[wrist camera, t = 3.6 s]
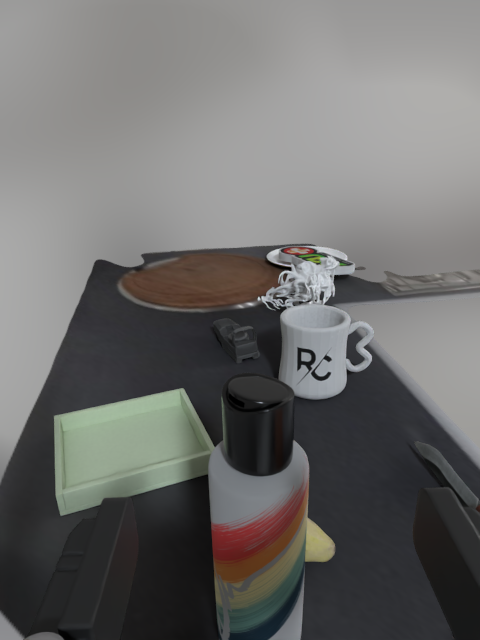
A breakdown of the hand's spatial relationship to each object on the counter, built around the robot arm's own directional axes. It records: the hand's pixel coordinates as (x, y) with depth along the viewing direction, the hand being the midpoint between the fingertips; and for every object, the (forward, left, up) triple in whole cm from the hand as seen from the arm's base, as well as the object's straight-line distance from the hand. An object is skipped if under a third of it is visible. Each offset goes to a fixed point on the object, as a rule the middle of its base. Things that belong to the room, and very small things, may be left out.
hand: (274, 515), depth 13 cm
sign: (+55, +84, -19) cm, 102 cm away
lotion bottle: (+4, +10, -22) cm, 25 cm away
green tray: (-1, +33, -22) cm, 40 cm away
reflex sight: (+18, +52, -22) cm, 60 cm away
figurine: (+34, +62, -11) cm, 72 cm away
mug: (+25, +37, -22) cm, 50 cm away
